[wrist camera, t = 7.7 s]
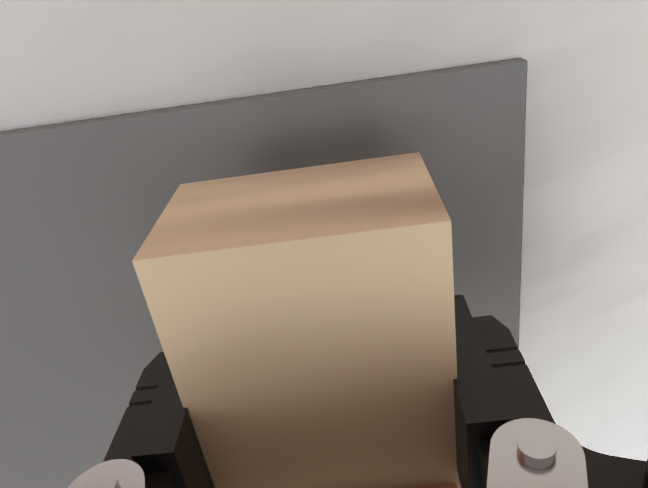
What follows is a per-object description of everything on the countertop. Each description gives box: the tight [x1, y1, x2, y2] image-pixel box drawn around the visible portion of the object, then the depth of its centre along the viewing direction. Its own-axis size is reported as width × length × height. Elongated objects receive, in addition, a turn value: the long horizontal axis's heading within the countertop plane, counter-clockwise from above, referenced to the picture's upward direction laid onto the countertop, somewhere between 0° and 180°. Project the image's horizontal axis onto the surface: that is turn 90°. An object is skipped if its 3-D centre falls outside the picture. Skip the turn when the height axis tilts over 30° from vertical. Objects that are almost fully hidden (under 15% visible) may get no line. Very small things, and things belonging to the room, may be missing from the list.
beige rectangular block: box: [132, 152, 461, 488], centre depth 11 cm, size 8×5×3 cm, turn 8°
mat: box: [0, 58, 527, 488], centre depth 18 cm, size 20×14×1 cm
